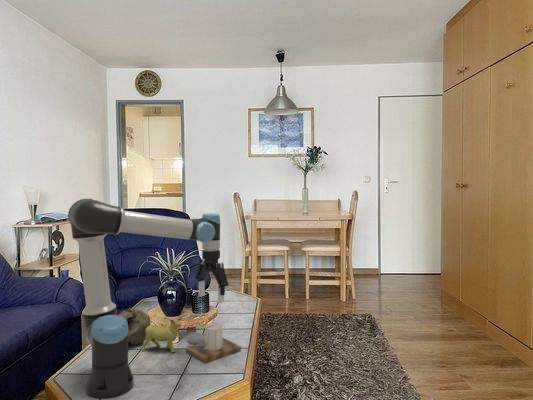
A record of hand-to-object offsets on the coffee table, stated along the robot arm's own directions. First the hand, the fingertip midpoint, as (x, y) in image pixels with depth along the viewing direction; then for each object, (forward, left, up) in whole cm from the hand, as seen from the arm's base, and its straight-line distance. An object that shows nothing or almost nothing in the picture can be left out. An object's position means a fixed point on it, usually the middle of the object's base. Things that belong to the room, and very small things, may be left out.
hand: (211, 299), depth 177 cm
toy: (-17, +11, -21) cm, 29 cm away
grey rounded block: (-2, -4, -19) cm, 20 cm away
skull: (-24, +28, -21) cm, 42 cm away
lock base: (-2, -4, -21) cm, 21 cm away
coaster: (+1, +11, -21) cm, 24 cm away
